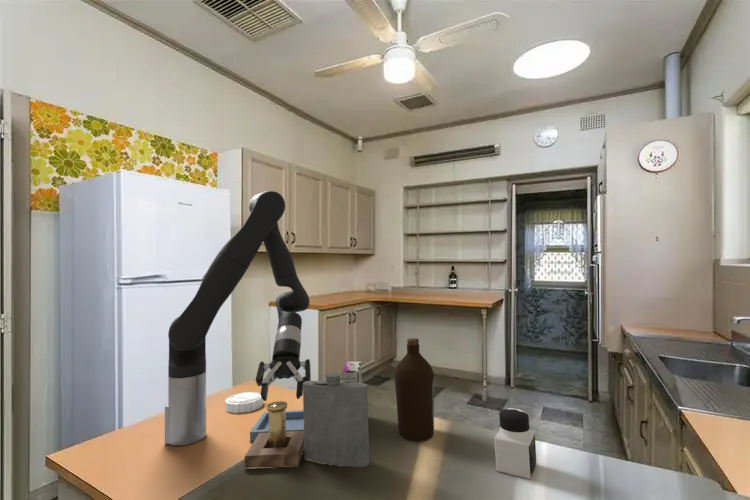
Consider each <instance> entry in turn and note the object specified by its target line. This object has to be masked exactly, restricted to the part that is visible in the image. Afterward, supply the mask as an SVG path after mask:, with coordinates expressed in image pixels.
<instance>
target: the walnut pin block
mask: <svg viewBox="0 0 750 500" xmlns="http://www.w3.org/2000/svg"><path fill="white" fill-rule="evenodd" d="M303 449H304V431H290V432H286V447H284V448H269V433H259V434H258V436H257V437H256V439H255V441H254V442H252V444H251V446H250V447H249V449H248V450H247V452H246V453H245V455H244V468H245V467H246V468H248V467H249V468H250V467H283V466H284V467H285V466H298V465H299V466H300V464H299V462H300V463H301V461H300V459H301V460H302V458H301V456H302V457H303V455H302V453H303V454H304V452H303Z"/></svg>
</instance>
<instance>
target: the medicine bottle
mask: <svg viewBox="0 0 750 500" xmlns="http://www.w3.org/2000/svg"><path fill="white" fill-rule="evenodd" d="M498 417H499V430H498V432H497V433H496V435H495V436H494V451H495V470H496V472H500V473H503V474H508V475H512V476H515V477H519V478H523V479H527V480H532V478H533V474H534V472H535V469H536V466H537V465H538V464H537V463H538V462H537V449H536V432H535V431H534V430H530V417H529V414H528V413H527V412H526V411H524V410H522V409H518V408H512V407H509V408H508V407H507V408H504V409H502V410H500V411H499V416H498Z"/></svg>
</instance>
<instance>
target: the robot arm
mask: <svg viewBox="0 0 750 500" xmlns="http://www.w3.org/2000/svg"><path fill="white" fill-rule="evenodd" d="M248 208H249V213H250V214H249V215H248V217H247V219H246V220H245V222H244V224H243V225H242V226H241V227H240V228H239V230H237V232H236V233H235V234H233V236H231V237H230V239H229V240H228V241H226V243H225V244H224V245H223V247H222V248H221V249H220V250H219V252H218V253H217V254H216V256H215V257H214V259H213V260H212V262H211V264H210V266H209V267H208V269H207V271H206V273H205V274H204V276H203V279H202V280H201V283H200V286H199V288H198V290H197V292H196V293H195V295H194V297H193V299H192V300H191V301H190V303H189V304H188V305H187V306H186V308H185V309H184V310H183V312H182V313H181V314H180V315H179V316H178V317H176V318H175V319H173V321H172V323H171V324H170V326H169V329H168V333H167V335H168V368H167V369H168V374H167V375H168V378H167V379H168V383H167V384H168V386H167V387H168V389H167V390H168V393H167V395H168V397H167V398H168V399H167V403H168V404H166V405H165V407H164V444H166V445H170V446H177V447H178V446H186V445H190V444H194V443H197V442H199V441H201V440H202V439H204V438H205V437H206V435H207V355H206V354H207V353H206V352H207V351H206V350H207V349H206V347H207V346H206V339H207V338H206V337H207V335H208V332H209V330H210V328H211V326H212V324H213V322H214V320H215V318H216V316H217V314H218V313H219V311H220V309H221V307H222V306H223V304H224V303H225V302H226V301H227V300H228V298H229V297H230V295H231V294H232V293H233V291H234V290H235V289H236V288H237V286H238V284H239V283H240V282H241V280H242V278H244V276H245V273H246V272H247V270H248V268H249V267H250V265H251V263H252V262H253V260H254V259H255V257H256V255H257V253H258V251H259V250H260V248H261V246H262V245H264V247H265V251H266V253H267V256H268V259H269V264H270V267H271V271H272V275H273V278H274V281H275V284H276V285H277V286H278V287H283V288H284V287H286V288H290V289H291V290H290V291H285V292H282V293H280V294H278V296H277V297H276V299H275V305H276V310H277V316H278V317H277V318H278V324H277V328H276V329H277V331H276V334H275V338H274V346H273V351H272V357H271V361H270V362H269V363H265V361H260V362H259V364H258V369H257V372H256V377H255V383H256V386H258V387H261V388H260V394H261V398H262V399H263V402H266V401H267V399H268V395H269V394H268V393H269V386H271V384H272V383H274V382H275V381H276V380H277V379H278V380H282V379H291V378H293V380H294V381H295V382H296V391H295V393H296V394H295V396H296V397H295V398H296V399H297V400H300V398H301V397H303V382H306V381H312V380H311V378H312V376H311V375H312V374H311V360H310V359H305V360H304V361H300V359H301V347H302V325H303V324H302V323H303V319H302V316H301V315H300V314H299V313H300V312H303V311H306V310H308V308H309V307H310V302H311V301H310V297H309V295H308V294H309V293H307V291H306V290H305V287H304V286H303V284H302V283H301V281H300V279H299V277H298V274H297V270H296V267H295V263H294V259H293V257H292V255H291V253H290V250H289V249H288V247H287V245H286V243H285V241H284V239H283V236H282V234H281V230H280V228H279V224H278V222H279V221H280V219H281V218H282V217H283V215H284V212H285V211H286V201H285V199H284V196H283V195H282V194H280V193H279V192H277V191H274V190H266V191H263V192H260V193H257V194H255V195H253V196H252V197H251V198H250V201H249V203H248ZM298 312H299V313H298ZM301 368H302V369H303V371H305V374H304V375H305V376H302V375H301V374H300V372H299V370H300V369H301ZM269 369H270V371H269V372H268V373H267V375H266V376H265V373H266V372H267V371H268V370H269ZM264 376H265V377H264Z"/></svg>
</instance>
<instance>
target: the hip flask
mask: <svg viewBox="0 0 750 500" xmlns="http://www.w3.org/2000/svg"><path fill="white" fill-rule="evenodd" d="M341 379H342V373H340V372H328V373H325V380H311V381H306V382H303V395H302V398H303V399H302V403H303V406H302V410H303V414H304V452H303V458H304V457H305V458H306V459H310V460H313V461H317V462H321V463H326V464H332V465H343V466H354V467H353V468H365V467H367V466H369V465H370V445H369V443H370V440H369V436H370V435H369V408H368V407H369V405H368V404H369V403H368V385H367V384H366V383H363V382H362V383H343V382H341ZM332 465H331V466H332Z"/></svg>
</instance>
